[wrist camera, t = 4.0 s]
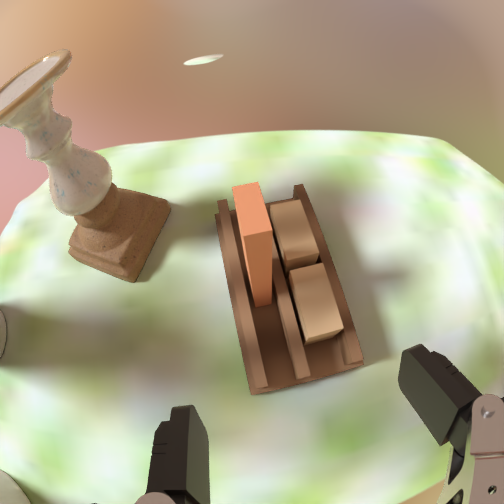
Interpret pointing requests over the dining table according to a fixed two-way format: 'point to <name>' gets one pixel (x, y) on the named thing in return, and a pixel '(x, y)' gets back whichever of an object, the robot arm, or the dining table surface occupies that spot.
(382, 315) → the dining table surface
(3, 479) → the utensil holder
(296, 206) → the offcut block
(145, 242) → the candle holder
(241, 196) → the slat
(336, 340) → the rack
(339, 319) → the offcut block
